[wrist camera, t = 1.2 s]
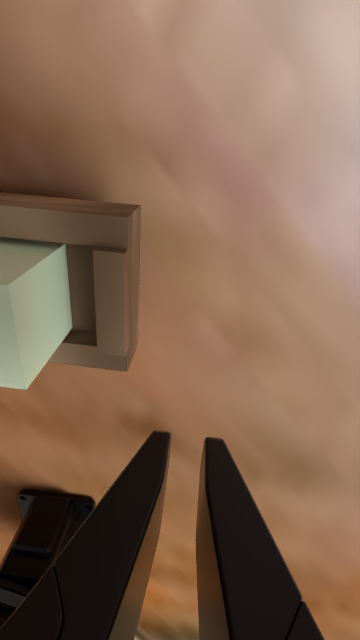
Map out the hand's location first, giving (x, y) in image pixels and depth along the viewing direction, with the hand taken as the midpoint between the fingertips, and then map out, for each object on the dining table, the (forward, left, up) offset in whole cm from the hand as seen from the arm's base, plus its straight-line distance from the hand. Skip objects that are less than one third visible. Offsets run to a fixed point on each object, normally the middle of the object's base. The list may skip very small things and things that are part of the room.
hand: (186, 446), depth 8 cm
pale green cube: (0, +8, -8) cm, 11 cm away
